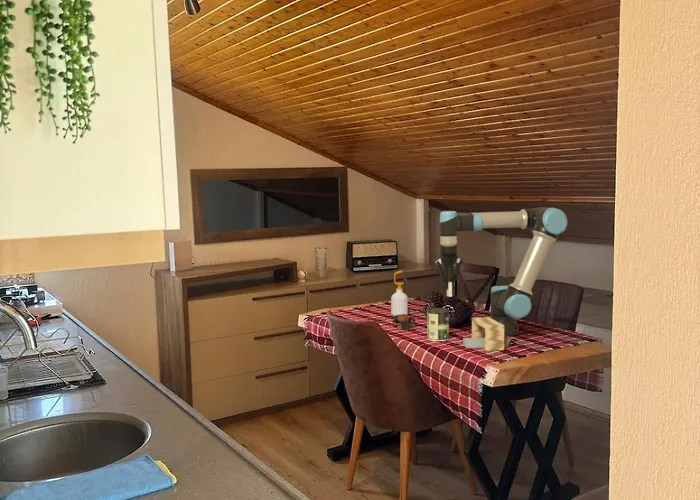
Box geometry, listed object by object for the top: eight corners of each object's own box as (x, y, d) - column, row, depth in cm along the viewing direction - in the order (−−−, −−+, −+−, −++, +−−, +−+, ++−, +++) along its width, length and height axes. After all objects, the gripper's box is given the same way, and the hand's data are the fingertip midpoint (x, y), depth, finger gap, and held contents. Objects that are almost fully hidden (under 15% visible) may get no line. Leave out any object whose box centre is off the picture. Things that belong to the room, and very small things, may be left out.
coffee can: (449, 337, 320) (449, 307, 319) (448, 342, 310) (448, 312, 309) (427, 336, 322) (428, 307, 321) (426, 341, 312) (426, 311, 311)
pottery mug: (392, 331, 335) (389, 315, 339) (396, 335, 344) (394, 320, 347) (415, 326, 333) (412, 310, 336) (419, 330, 341) (416, 315, 344)
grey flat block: (493, 344, 308) (493, 337, 307) (496, 348, 301) (496, 341, 301) (462, 344, 308) (463, 338, 308) (465, 348, 301) (465, 341, 301)
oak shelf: (495, 339, 315) (496, 316, 313) (512, 349, 297) (512, 324, 296) (471, 341, 312) (471, 317, 311) (486, 350, 295) (487, 326, 293)
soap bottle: (408, 316, 368) (408, 271, 365) (391, 316, 368) (391, 271, 365) (407, 312, 377) (407, 269, 374) (390, 313, 377) (390, 269, 374)
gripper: (458, 243, 311) (459, 293, 314) (432, 245, 308) (433, 295, 311) (465, 245, 304) (465, 296, 307) (438, 246, 301) (439, 298, 303)
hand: (449, 296), depth 309 cm, fingers closed
